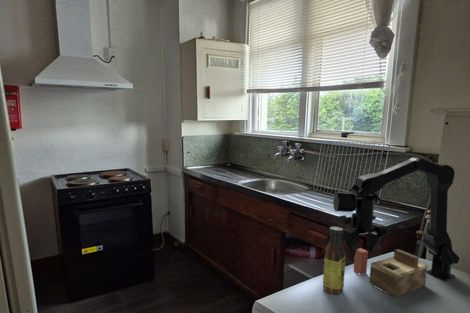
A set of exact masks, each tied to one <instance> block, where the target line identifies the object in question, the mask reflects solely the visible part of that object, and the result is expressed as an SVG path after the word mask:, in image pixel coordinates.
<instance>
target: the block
mask: <svg viewBox="0 0 470 313" xmlns="http://www.w3.org/2000/svg"><path fill="white" fill-rule="evenodd" d="M368 256H369V252H368V250H366V249H364V248H361V247H360V248H357V251H356V254H355V256H354V258H353V272H355V273H356V272H357V273H356V274H358V273H360V274H361V275H363V274H362V273H365V274H367V272H368V271H367V269H368V258H369V257H368ZM360 274H359V275H360Z"/></svg>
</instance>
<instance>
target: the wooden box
mask: <svg viewBox="0 0 470 313" xmlns="http://www.w3.org/2000/svg"><path fill="white" fill-rule="evenodd" d="M386 267H387V268H389V269H391V270H396V268H393V267H391V266H386ZM427 271H428V267H427V268H426V269H423V270H420V271H417V272H414V273H411V274H408V275H405V276H402V277H399V278H394V277H392V276H390V275H388V274H386V273H384V272H382V271H380V270H378V269H376V268H374V267H372V266H371V265H370V271H369V280H368V281H369V283H371V284H372V285H371V284H370V285H371V286H373V285H374V286H376V287H378V288H380V289H382V290H383V291H382V290H381V291H382V292H384V291H385V292H387V293H389V294H390V295H389V294H388V295H389V296H391V295H392V296H391V297H393V298H397V297H399V296H402V294H403V295H405V294H407V292H408V293H411V292H413V291H416V290H418V289H421V288H423V287H426V280H427V274H428V273H427ZM369 283H368V284H369ZM374 286H373V287H374ZM376 287H375V288H376ZM378 288H377V289H378ZM380 289H379V290H380ZM385 292H384V293H385ZM387 293H386V294H387ZM404 293H405V294H404Z"/></svg>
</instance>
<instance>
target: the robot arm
mask: <svg viewBox="0 0 470 313" xmlns="http://www.w3.org/2000/svg"><path fill="white" fill-rule="evenodd" d="M418 171H419V172H421V173H425V177H426V181H427V183H428V186H429V187H430V213H429V214H430V216H429V217H430V219H429V221H430V222H429V229H428V231H427V232H426V231H423V232H422V238H423V239H422V243H423V244H424V247H425V249H427V252H428V254H430V255H431V256H432V261H431V269H427V273H426V274H428V275H431V276H434V277H437V279H438V278H439V279H441V280H444V281H448V280H450V279H453V278H455V277H456V275H455V274H453V273H452V265H454V264H458V263H459V261H460V259H461V258H460V257H459V255H457V254H456V253H455V251H454V250H453V245H452V239H451V237H450V235H449V233H448V197H449V196H448V192H449V190H450V188H451V187H452V185H453V183H454V179H455V174H456V173H455V172H456V171H455V169H454V167H452V166H451V165H448V164H443V163H439V162H432V161H428V160H427V159H424V158H422V157H416V156H412V157H411V158H409V159H406V160H404V161H403V162H400V163H398V164H396V165H393V166H391V167H389V168H386V169H383V170H382V171H379V172H372V173H366V174H363V175H360V176H358V177H357V178H356V179H355V183H354V184H353V186H351V187H350V189H349V190H348V191H347V192H346V191H345V192H342V191H336V192H335V195H334V197H333V198H334V199H333V201H332V205H333V206H332V207H333V210H334V211H335V212H342V213H343V212H346V213H348V212H349V213H352V212H354V211H355V212H354V213H352V214H351V216H346V215H339V216H338V224H339V225H341V226H342V227H344V228H342V229H343V234H342V241H343V240H344V242H345V244H346V246H347V249H348V252H349V256H350V258H352V259H354V258H355V254H356V251H357V249H359V245H360V240H359V239H360V238H361V235H366V236H367V251H368V254H369V253H370V254H372V253H373V251H374V250H375V249H376V246H378V244H379V243H380V241H381V240H382V239H383V238H384V237H385V235H387V233H388V228H387V226H385V225H383V224H380V223H378V222H373V221H374V220H377V216H376V215H374V210H375V201H377V202H381V201H382V198H380V197H379V195H378V194H377V193H378V192H379V191H380V190H382V189H383V188H384V187H385V186H386V185H388V184H389V183H392V182H394V181H396V180H399V179H401V178H403V177H406V176H408V175H410V174H412V173H416V172H418ZM349 226H350V228H349Z"/></svg>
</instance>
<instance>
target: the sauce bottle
mask: <svg viewBox="0 0 470 313" xmlns="http://www.w3.org/2000/svg"><path fill="white" fill-rule="evenodd" d="M342 234H343V228H342V227H340V226H330V227H329V242H328V244H327V245H326V246H325V249H324V258H323V260H324V262H323V273H322V275H323V277H322V284H323V285H322V286H323V287H322V288H323V289H324V291H325V292H327V293H329V294H332V295H340V294H342V293H343V292H344V287H345V273H346V271H345V270H346V251H345V247H344V245H343V239H342Z"/></svg>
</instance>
